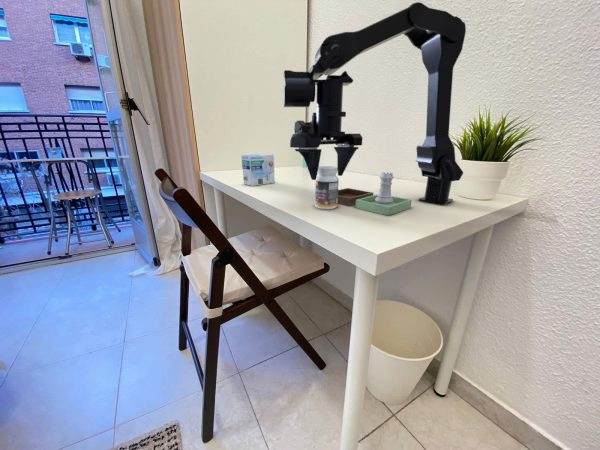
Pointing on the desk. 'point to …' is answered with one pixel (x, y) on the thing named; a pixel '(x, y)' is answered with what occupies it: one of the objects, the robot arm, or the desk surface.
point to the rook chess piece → (385, 190)
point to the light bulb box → (258, 169)
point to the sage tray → (370, 205)
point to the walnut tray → (351, 196)
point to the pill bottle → (326, 188)
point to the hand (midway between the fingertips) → (327, 177)
